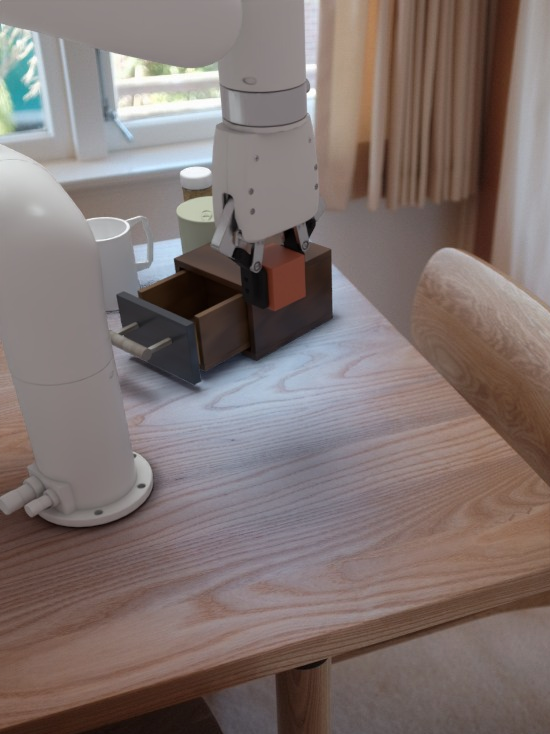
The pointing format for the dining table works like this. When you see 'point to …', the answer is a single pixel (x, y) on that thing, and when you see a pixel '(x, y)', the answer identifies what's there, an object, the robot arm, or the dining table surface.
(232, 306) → the drawer
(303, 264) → the block
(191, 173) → the sprinkles bottle
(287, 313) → the cabinet
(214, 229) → the can
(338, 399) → the dining table surface
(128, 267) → the cup
